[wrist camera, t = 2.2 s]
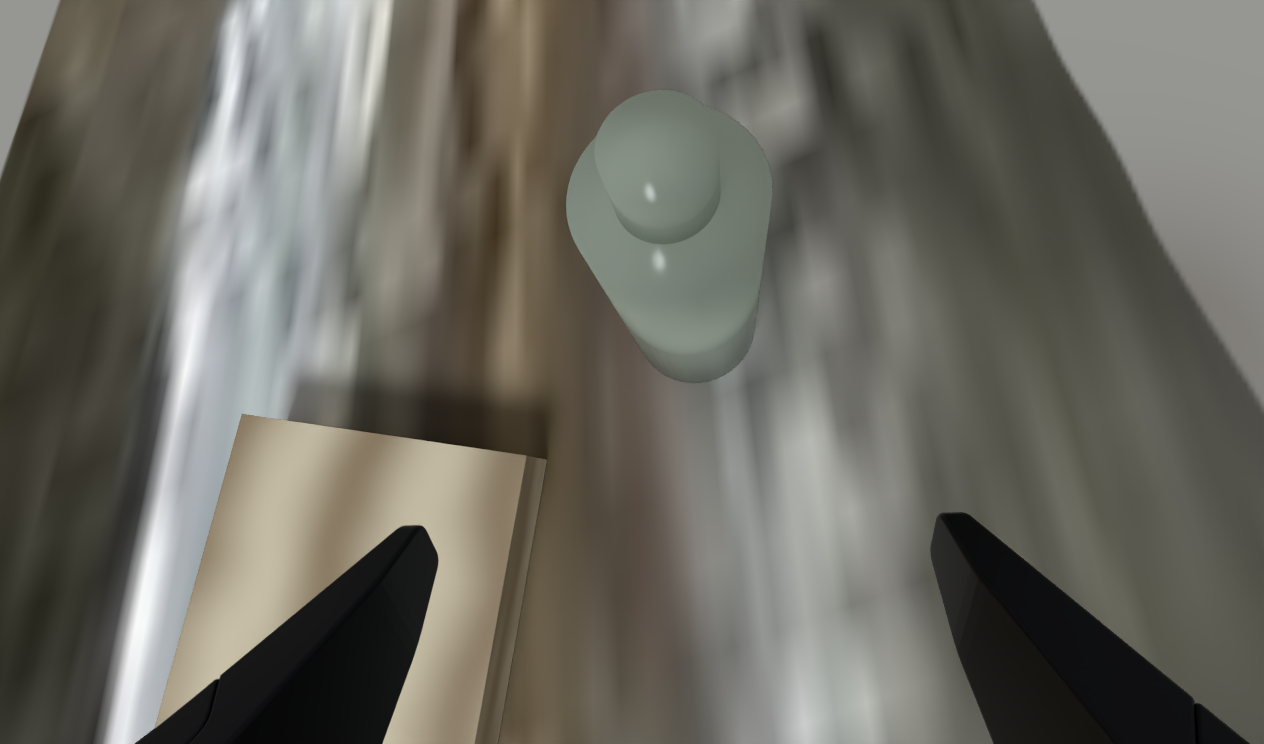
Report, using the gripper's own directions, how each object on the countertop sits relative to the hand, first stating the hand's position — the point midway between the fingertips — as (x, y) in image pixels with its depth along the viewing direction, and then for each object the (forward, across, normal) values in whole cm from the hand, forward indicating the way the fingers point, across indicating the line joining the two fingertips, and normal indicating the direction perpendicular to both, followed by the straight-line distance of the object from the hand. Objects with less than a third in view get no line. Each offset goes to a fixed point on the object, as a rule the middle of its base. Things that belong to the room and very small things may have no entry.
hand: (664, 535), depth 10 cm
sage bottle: (+15, 0, +4) cm, 15 cm away
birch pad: (+7, +14, +11) cm, 19 cm away
